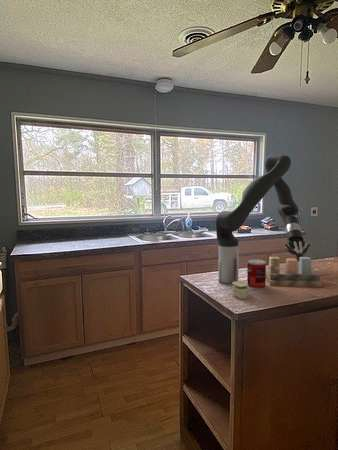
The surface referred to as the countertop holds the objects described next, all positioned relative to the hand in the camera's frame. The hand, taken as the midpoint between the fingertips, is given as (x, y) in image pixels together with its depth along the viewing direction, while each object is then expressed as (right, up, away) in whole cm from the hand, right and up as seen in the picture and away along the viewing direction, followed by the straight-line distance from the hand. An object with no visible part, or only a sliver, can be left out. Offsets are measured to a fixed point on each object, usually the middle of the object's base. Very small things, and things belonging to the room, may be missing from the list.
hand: (300, 261), depth 140 cm
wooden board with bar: (-8, -8, -8) cm, 14 cm away
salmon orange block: (-8, -6, -9) cm, 13 cm away
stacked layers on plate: (-37, -11, -26) cm, 46 cm away
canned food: (-26, -9, -13) cm, 31 cm away
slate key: (-1, -6, -6) cm, 8 cm away
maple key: (-15, -6, -4) cm, 16 cm away
